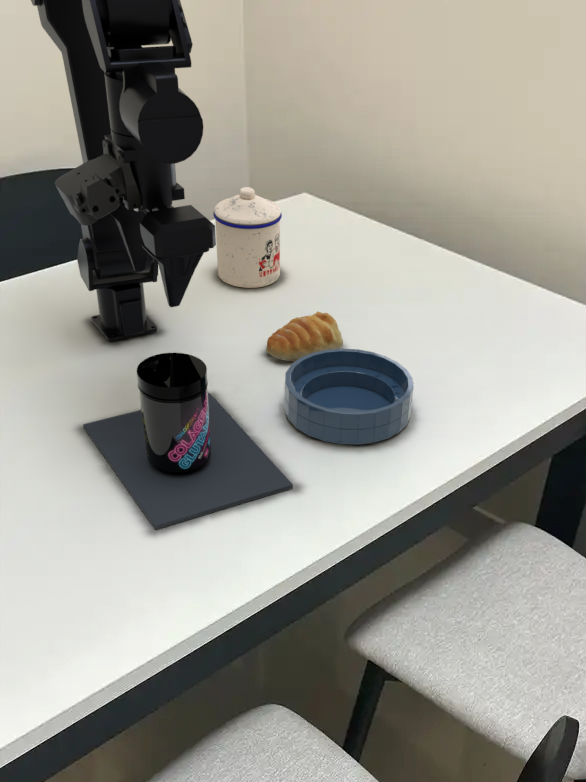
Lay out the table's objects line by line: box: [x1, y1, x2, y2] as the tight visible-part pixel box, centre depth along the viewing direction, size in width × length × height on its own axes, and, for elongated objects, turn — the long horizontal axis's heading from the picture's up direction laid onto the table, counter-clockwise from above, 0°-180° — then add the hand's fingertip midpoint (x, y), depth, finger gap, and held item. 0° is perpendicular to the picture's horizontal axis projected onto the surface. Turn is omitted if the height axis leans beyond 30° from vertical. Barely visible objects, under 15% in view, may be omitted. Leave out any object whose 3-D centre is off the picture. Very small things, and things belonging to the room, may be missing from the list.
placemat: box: [82, 392, 294, 530], centre depth 101 cm, size 20×15×1 cm
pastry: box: [265, 311, 344, 362], centre depth 118 cm, size 9×7×4 cm
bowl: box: [284, 348, 415, 445], centre depth 108 cm, size 14×14×4 cm
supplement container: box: [136, 352, 211, 476], centre depth 96 cm, size 7×7×10 cm
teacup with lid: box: [212, 186, 283, 289], centre depth 131 cm, size 12×9×12 cm
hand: (156, 288), depth 101 cm, fingers open, 9 cm apart
